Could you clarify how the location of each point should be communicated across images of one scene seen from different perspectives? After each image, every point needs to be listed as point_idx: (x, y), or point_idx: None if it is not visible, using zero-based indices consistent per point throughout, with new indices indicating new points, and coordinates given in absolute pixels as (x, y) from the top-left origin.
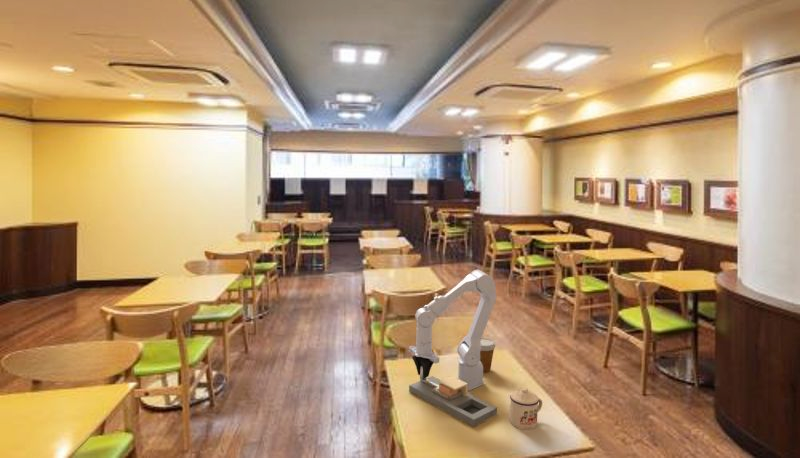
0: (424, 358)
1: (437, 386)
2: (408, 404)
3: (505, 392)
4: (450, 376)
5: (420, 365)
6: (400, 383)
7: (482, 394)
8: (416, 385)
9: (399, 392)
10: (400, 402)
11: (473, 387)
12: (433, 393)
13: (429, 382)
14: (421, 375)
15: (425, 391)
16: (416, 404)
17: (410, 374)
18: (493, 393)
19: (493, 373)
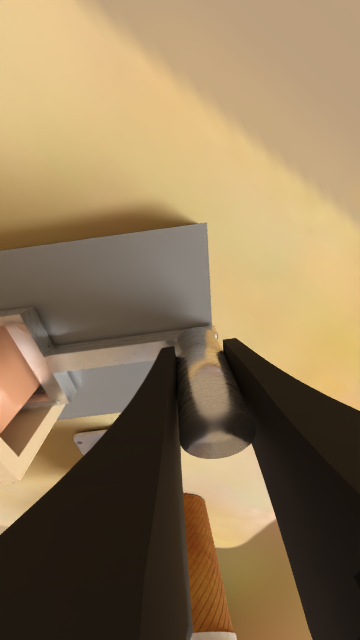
0: (290, 547)
1: (52, 357)
2: (32, 79)
3: (33, 489)
4: (7, 475)
5: (247, 419)
6: (311, 241)
7: (39, 449)
8: (171, 268)
9: (228, 150)
10: (86, 25)
11: (83, 454)
12: (17, 298)
13: (125, 347)
14: (194, 345)
15: (62, 269)
16: (17, 149)
17: (332, 342)
18: (36, 470)
19: None
